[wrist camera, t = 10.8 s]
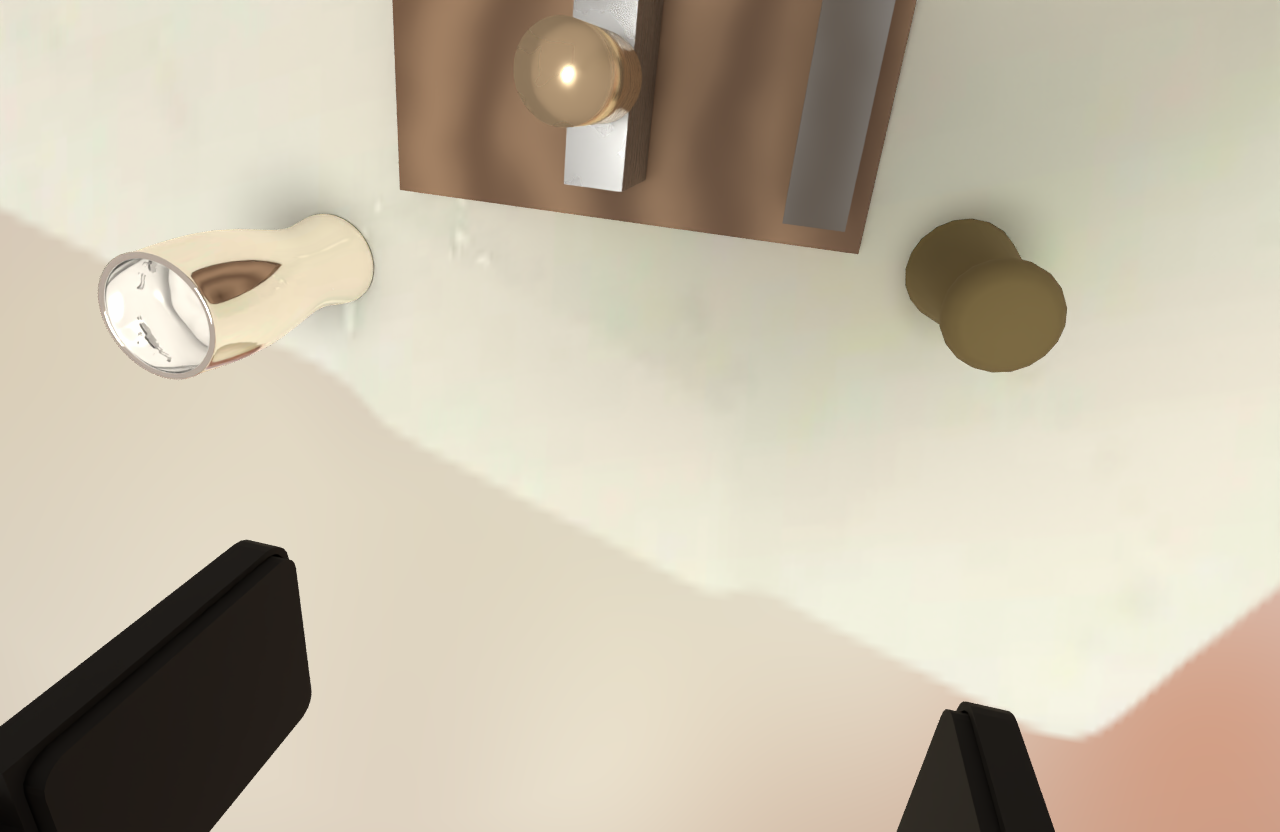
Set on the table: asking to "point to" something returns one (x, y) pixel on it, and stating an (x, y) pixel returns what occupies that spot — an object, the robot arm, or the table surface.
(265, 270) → the beer glass
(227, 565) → the robot arm
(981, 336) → the olive brown pawn
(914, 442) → the table surface
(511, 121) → the base
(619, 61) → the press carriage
